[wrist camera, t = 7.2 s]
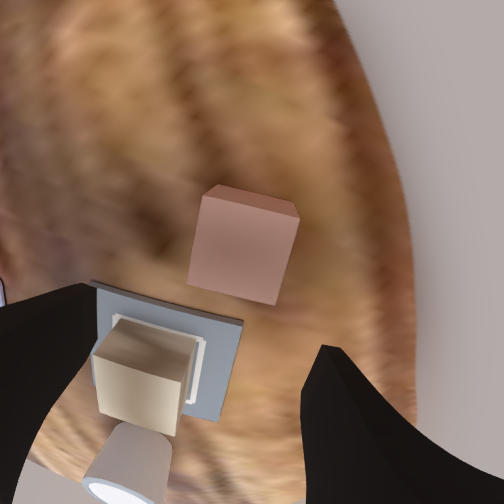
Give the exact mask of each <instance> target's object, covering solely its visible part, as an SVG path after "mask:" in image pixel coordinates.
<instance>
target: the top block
mask: <svg viewBox="0 0 504 504" xmlns="http://www.w3.org/2000/svg"><path fill="white" fill-rule="evenodd" d="M299 221H300V217H299V215H298V212H297V210H296V207H295V205H294V203H293V202H290V201H286V200H282V199H278V198H274V197H270V196H266V195H262V194H258V193H254V192H249V191H245V190H241V189H237V188H232V187H228V186H224V185H219V184H218V185H216V186H215V187H213V188H212V189H211V190H209V191H208V192H206V193H205V194H204V195H203V196H202V201H201V206H200V211H199V216H198V221H197V226H196V231H195V237H194V242H193V248H192V253H191V259H190V265H189V271H188V276H187V283H186V284H187V285H191V286H195V287H199V288H203V289H207V290H211V291H215V292H219V293H223V294H227V295H231V296H235V297H240V298H244V299H248V300H252V301H257V302H261V303H265V304H270V305H274V306H275V304H276V300H277V297H278V294H279V290H280V287H281V284H282V280H283V277H284V274H285V270H286V267H287V263H288V260H289V257H290V253H291V250H292V246H293V243H294V239H295V236H296V232H297V229H298V225H299Z"/></svg>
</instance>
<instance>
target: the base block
mask: <svg viewBox="0 0 504 504" xmlns="http://www.w3.org/2000/svg"><path fill="white" fill-rule="evenodd" d="M195 346H196V339H193V338H189V337H185V336H182V335H178V334H174V333H170V332H167V331H163V330H159V329H156V328H152V327H149V326H145V325H142V324H139V323H135V322H132V321H129V320H125V319H122V318H120V320H119V321H118V322H117V323H116V325H115V326H114V327H113V329H112V330H111V331H110V332H109V334H108V335H107V336H106V338H105V339H104V340H103V342H102V343H101V344H100V346H99V347H98V348H97V350H96V351H95V352H94V354H93V364H94V373H95V382H96V389H97V397H98V403H99V410H100V412H101V413H103V414H106V415H109V416H111V417H114V418H117V419H120V420H123V421H125V422H128V423H131V424H134V425H137V426H140V427H144V428H147V429H150V430H153V431H157V432H160V433H163V434H167V435H171V436H174V437H175V435H176V431H177V428H178V425H179V422H180V418H181V415H182V412H183V409H184V405H185V402H186V399H187V396H188V391H189V384H190V378H191V371H192V365H193V358H194V352H195Z"/></svg>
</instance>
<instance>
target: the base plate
mask: <svg viewBox="0 0 504 504" xmlns="http://www.w3.org/2000/svg"><path fill="white" fill-rule="evenodd" d="M88 285H90V286H93V287H96V288H97V329H98V340H97V342H96V344H95V345H94V347H93V349H92V351H91V353H90V354H91V364H92V374H93V382H94V385H95V386H96V382H95V373H94V364H93V354H94V352H95V351H96V350H97V348H98V347H99V346H100V344H101V343H102V342H103V340H104V339H105V338H106V336H107V335H108V334H109V332H110V331H111V330H112V329H113V327H114V326H115V325H116V323H117V322H118V321H119V320H120V318H122V319H125V320H129V321H132V322H135V323H139V324H142V325H145V326H149V327H152V328H156V329H159V330H163V331H167V332H170V333H174V334H178V335H182V336H185V337H189V338H193V339H196V346H195V352H194V358H193V365H192V371H191V378H190V384H189V391H188V396H187V399H186V402H185V405H184V409H183V412H182V414H185V415H189V416H193V417H197V418H201V419H205V420H210V421H214V422H218V420H219V416H220V412H221V409H222V405H223V401H224V397H225V393H226V389H227V386H228V382H229V378H230V374H231V370H232V366H233V362H234V358H235V355H236V351H237V347H238V343H239V339H240V335H241V331H242V327H243V321H240V320H235V319H231V318H226V317H222V316H218V315H214V314H210V313H206V312H201V311H197V310H193V309H189V308H185V307H182V306H178V305H174V304H170V303H166V302H163V301H159V300H155V299H152V298H148V297H144V296H141V295H137V294H134V293H130V292H127V291H123V290H120V289H116V288H113V287H110V286H106V285H103V284H100V283H97V282H93V281H91V282H90V283H89V284H88Z"/></svg>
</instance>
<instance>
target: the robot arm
mask: <svg viewBox="0 0 504 504" xmlns="http://www.w3.org/2000/svg"><path fill="white" fill-rule="evenodd" d="M97 340H98V329H97V288H96V287H93V286H90V285H87V284H84V283H78V284H74V285H70V286H67V287H63V288H60V289H57V290H54V291H51V292H48V293H45V294H42V295H39V296H36V297H32V298H29V299H26V300H23V301H19V302H16V303H12V304H9V305H5V300H4V293H3V286H2V282H1V281H0V504H12V501H13V497H14V493H15V490H16V486H17V483H18V479H19V477H20V474H21V471H22V468H23V465H24V463H25V460H26V457H27V455H28V453H29V450H30V448H31V446H32V444H33V441H34V439H35V437H36V435H37V433H38V431H39V429H40V427H41V425H42V423H43V421H44V419H45V418H46V416H47V414H48V413H49V411H50V410H51V408H52V406H53V405H54V404H55V402H56V401H57V400H58V398H59V397H60V395H61V394H62V393H63V391H64V390H65V389H66V387H67V386H68V385H69V383H70V382H71V381H72V379H73V378H74V377H75V375H76V374H77V373H78V371H79V370H80V369H81V367H82V366H83V364H84V363H85V362H86V360H87V358H88V356H89V355H90V353H91V351H92V349H93V347H94V345H95V344H96V342H97ZM300 421H301V432H302V442H303V451H304V461H305V471H306V504H504V480H503V479H501V478H498V477H496V476H493V475H491V474H488V473H486V472H483V471H481V470H479V469H477V468H475V467H473V466H471V465H469V464H467V463H465V462H463V461H462V460H460V459H458V458H456V457H455V456H453V455H451V454H450V453H448V452H447V451H445V450H444V449H442V448H441V447H440V446H438V445H436V444H435V443H433V442H432V441H431V440H430V439H428V438H427V437H426V436H424V435H423V434H422V433H420V431H418V430H417V429H416V428H415V427H414V426H412V425H411V424H410V423H409V422H408V421H407V420H406V419H405V418H403V417H402V416H401V415H400V414H399V413H398V412H397V411H396V410H395V409H394V408H393V407H392V406H391V405H390V404H389V403H388V402H387V401H386V400H385V398H384V397H383V396H382V395H381V394H380V393H379V392H378V391H377V390H376V389H375V387H374V386H373V385H372V384H371V383H370V382H369V380H368V379H367V378H366V377H365V376H364V375H363V373H362V372H361V371H360V370H359V369H358V367H357V366H356V365H355V364H354V363H353V361H352V360H351V359H350V358H349V357H348V356H347V354H346V353H345V352H344V351H343V350H342V349H341V348H339V347H334V346H328V345H321V348H320V350H319V352H318V355H317V357H316V359H315V362H314V364H313V366H312V368H311V371H310V373H309V375H308V377H307V380H306V382H305V384H304V386H303V388H302V390H301V406H300Z"/></svg>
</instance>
